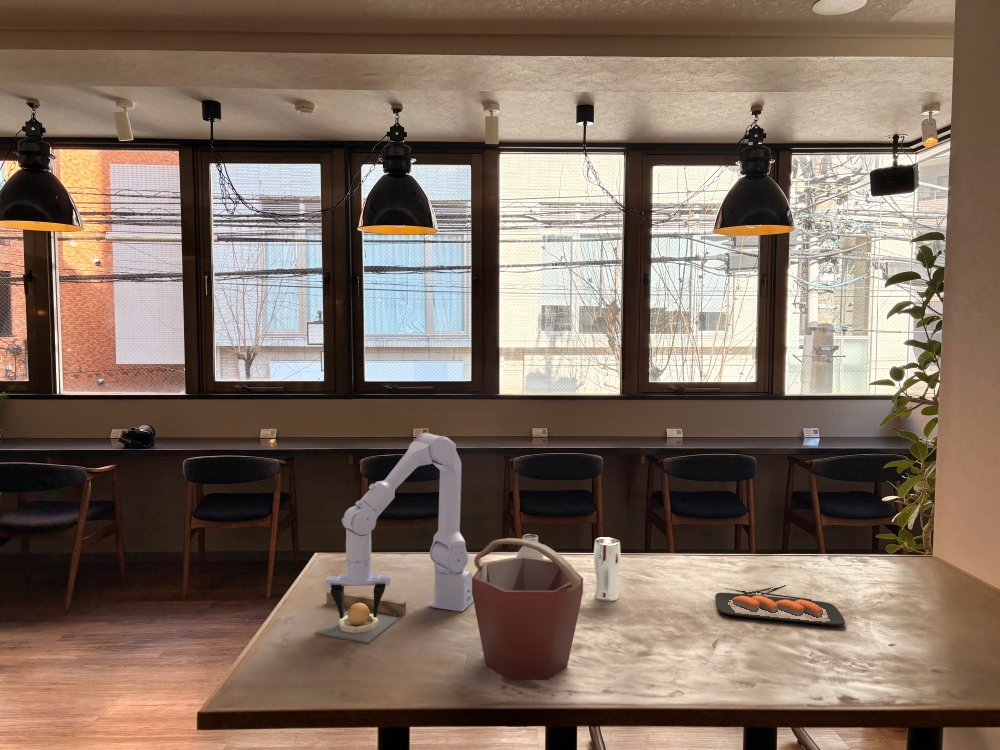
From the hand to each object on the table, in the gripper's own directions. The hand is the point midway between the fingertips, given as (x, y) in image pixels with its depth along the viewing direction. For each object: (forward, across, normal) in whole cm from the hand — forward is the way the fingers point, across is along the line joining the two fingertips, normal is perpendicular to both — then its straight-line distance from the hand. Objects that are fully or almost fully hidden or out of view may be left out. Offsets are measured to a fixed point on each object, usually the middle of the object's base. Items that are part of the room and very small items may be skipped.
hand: (358, 616), depth 153 cm
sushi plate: (+3, -105, -8) cm, 106 cm away
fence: (+2, 0, -10) cm, 11 cm away
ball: (0, 0, 0) cm, 0 cm away
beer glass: (+3, -63, -14) cm, 64 cm away
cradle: (+2, 0, 0) cm, 2 cm away
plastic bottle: (+3, -41, -2) cm, 41 cm away
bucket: (+3, -37, +20) cm, 42 cm away
